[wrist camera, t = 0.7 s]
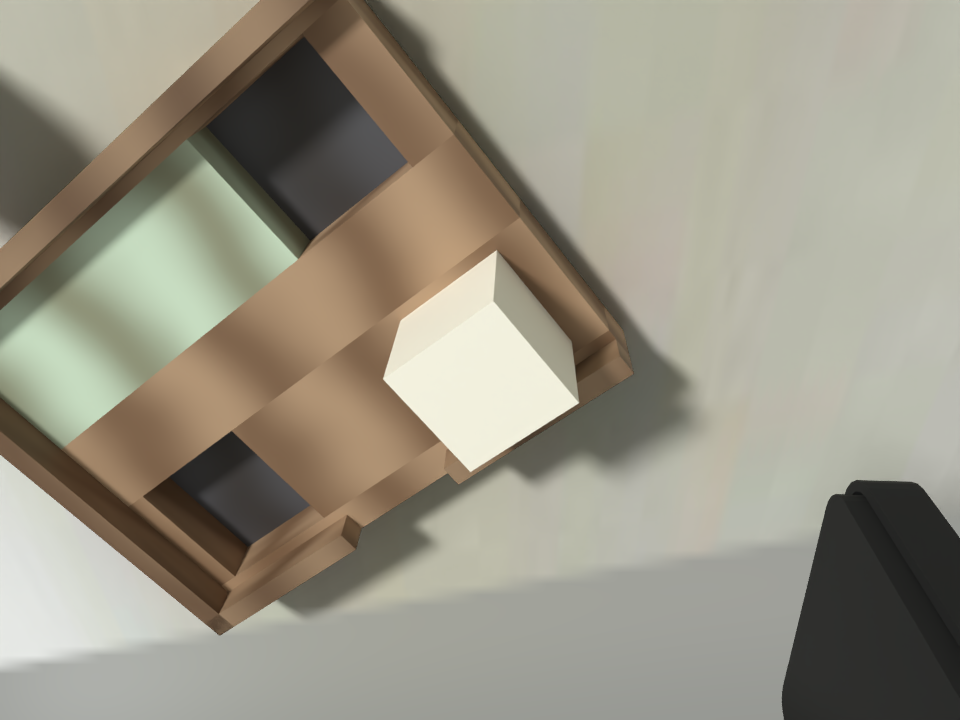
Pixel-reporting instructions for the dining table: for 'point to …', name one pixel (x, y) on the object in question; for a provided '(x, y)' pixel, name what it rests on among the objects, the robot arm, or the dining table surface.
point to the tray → (260, 308)
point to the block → (483, 363)
